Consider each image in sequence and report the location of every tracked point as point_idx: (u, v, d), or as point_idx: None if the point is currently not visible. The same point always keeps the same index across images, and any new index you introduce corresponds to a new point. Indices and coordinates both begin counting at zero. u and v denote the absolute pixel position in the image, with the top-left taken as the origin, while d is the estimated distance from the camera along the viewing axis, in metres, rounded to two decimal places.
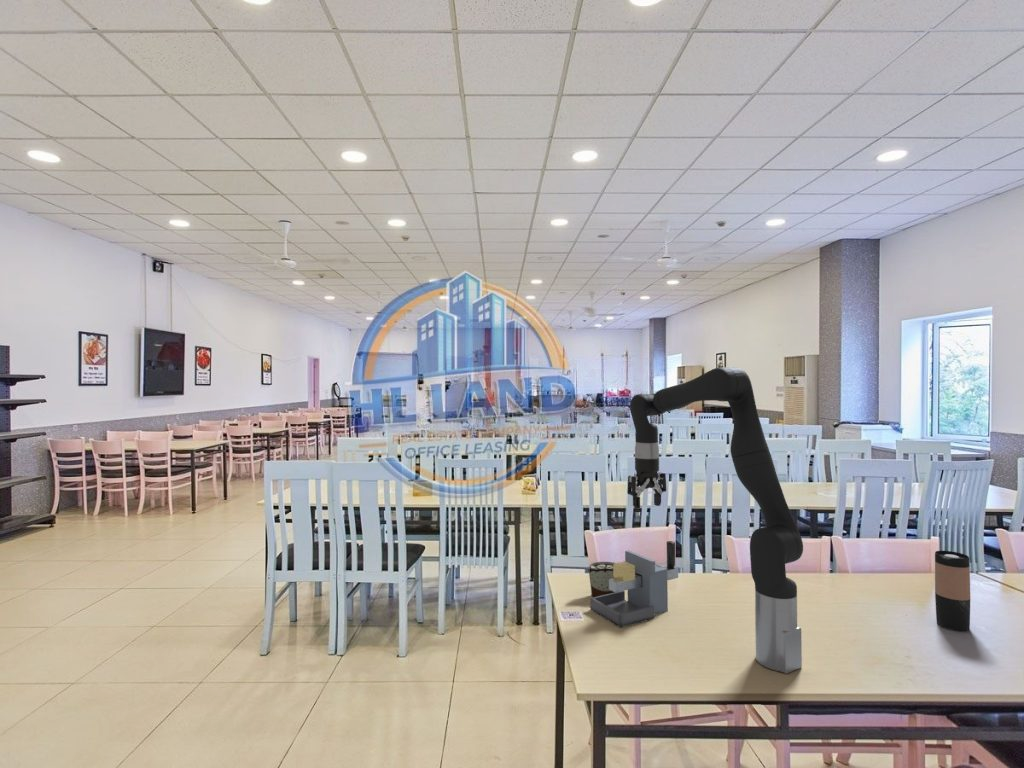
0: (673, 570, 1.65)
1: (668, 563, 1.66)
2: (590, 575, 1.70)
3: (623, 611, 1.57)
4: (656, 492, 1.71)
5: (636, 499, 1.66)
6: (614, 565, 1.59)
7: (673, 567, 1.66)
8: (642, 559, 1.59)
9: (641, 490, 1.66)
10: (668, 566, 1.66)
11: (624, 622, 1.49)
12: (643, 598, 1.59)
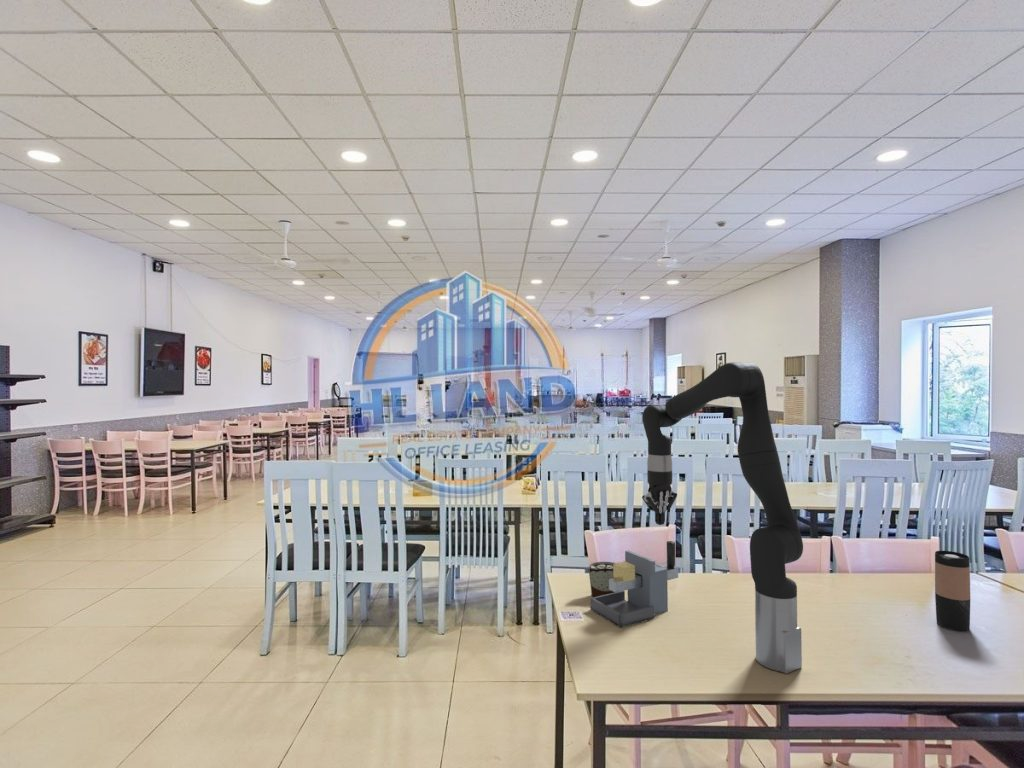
0: (673, 570, 1.65)
1: (668, 563, 1.66)
2: (590, 575, 1.70)
3: (623, 611, 1.57)
4: None
5: (658, 515, 1.64)
6: (614, 565, 1.59)
7: (673, 567, 1.66)
8: (642, 559, 1.59)
9: (660, 505, 1.63)
10: (668, 566, 1.66)
11: (624, 622, 1.49)
12: (643, 598, 1.59)
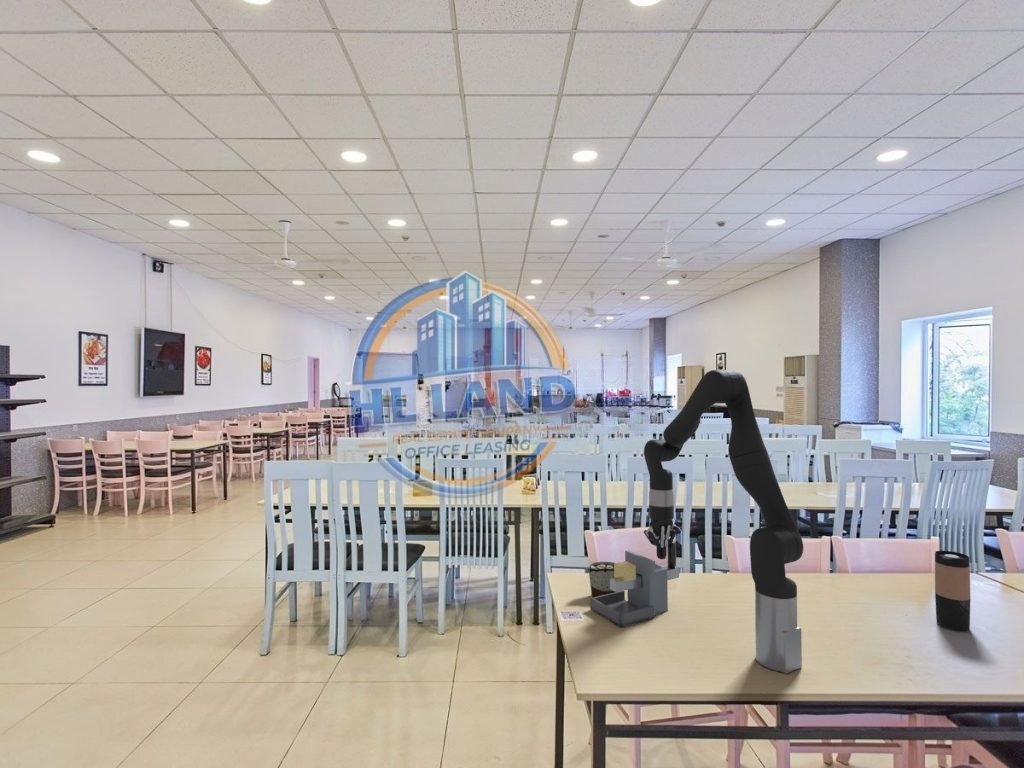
0: (674, 570, 1.66)
1: (669, 563, 1.66)
2: (590, 575, 1.70)
3: (623, 611, 1.57)
4: None
5: (660, 549, 1.64)
6: (615, 565, 1.59)
7: (674, 567, 1.66)
8: (642, 559, 1.59)
9: (662, 540, 1.63)
10: (669, 566, 1.66)
11: (624, 622, 1.49)
12: (643, 598, 1.59)
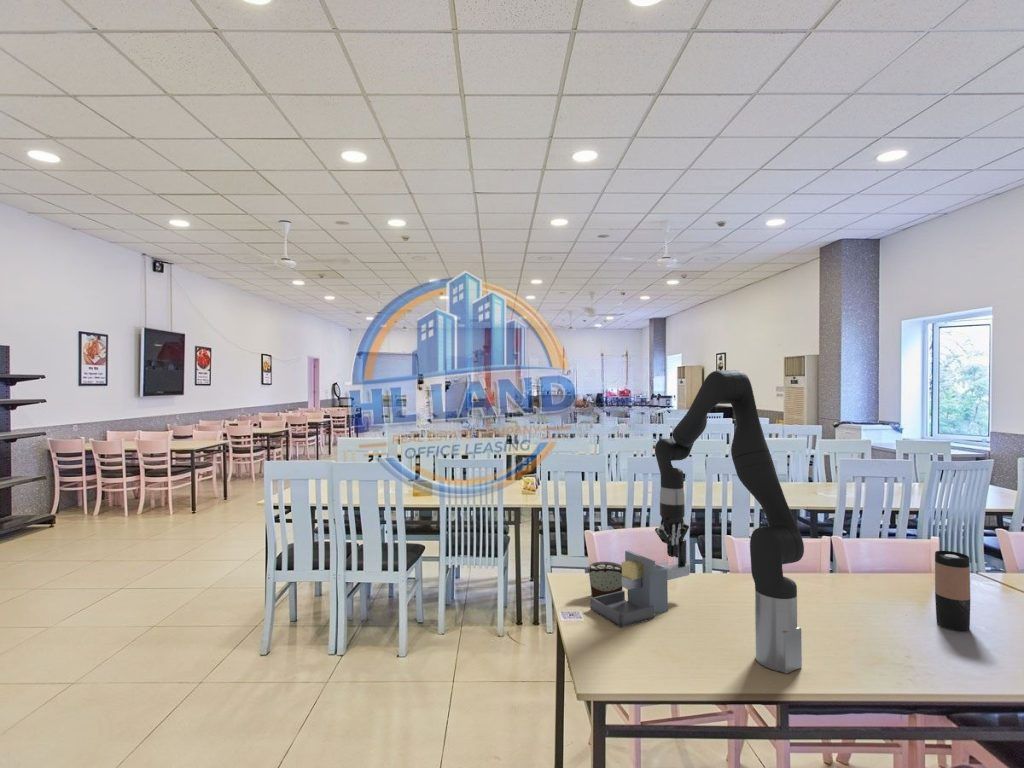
0: (685, 567, 1.68)
1: (679, 561, 1.68)
2: (590, 575, 1.70)
3: (623, 611, 1.57)
4: None
5: (671, 547, 1.66)
6: (622, 563, 1.60)
7: (684, 564, 1.68)
8: (642, 559, 1.59)
9: (673, 538, 1.66)
10: (679, 564, 1.68)
11: (624, 622, 1.49)
12: (643, 598, 1.59)
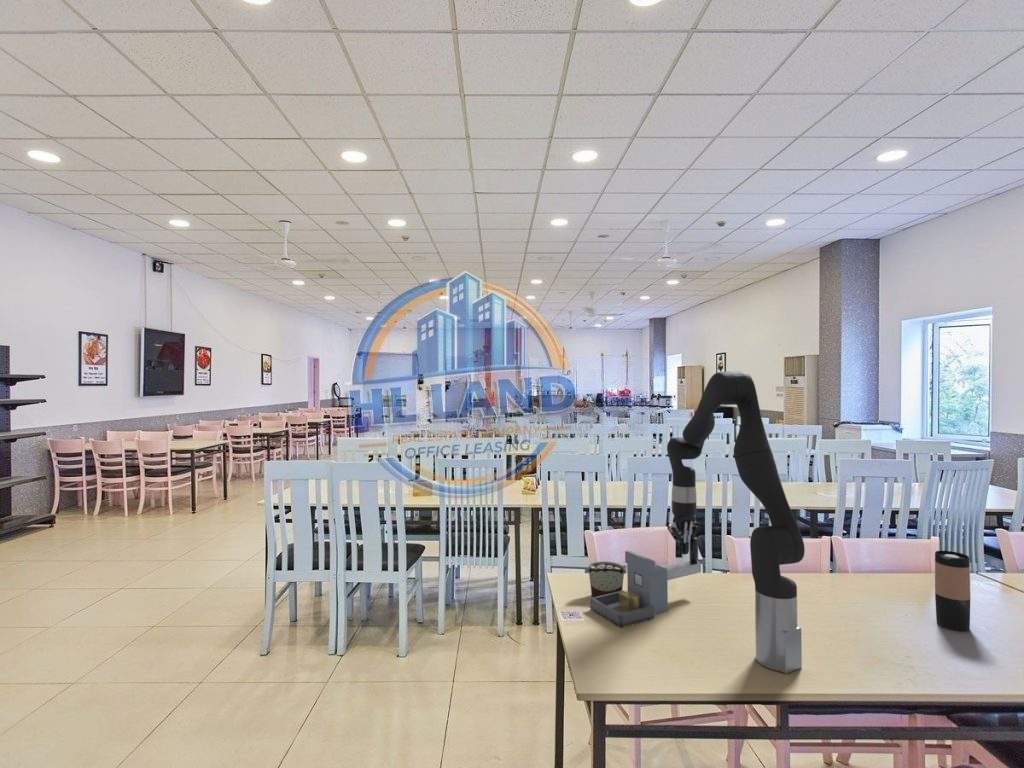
0: (696, 565, 1.70)
1: (691, 558, 1.71)
2: (590, 575, 1.70)
3: (623, 611, 1.57)
4: None
5: (683, 545, 1.69)
6: None
7: (696, 562, 1.70)
8: (642, 559, 1.59)
9: (685, 535, 1.68)
10: (691, 561, 1.71)
11: (624, 622, 1.49)
12: (643, 598, 1.59)
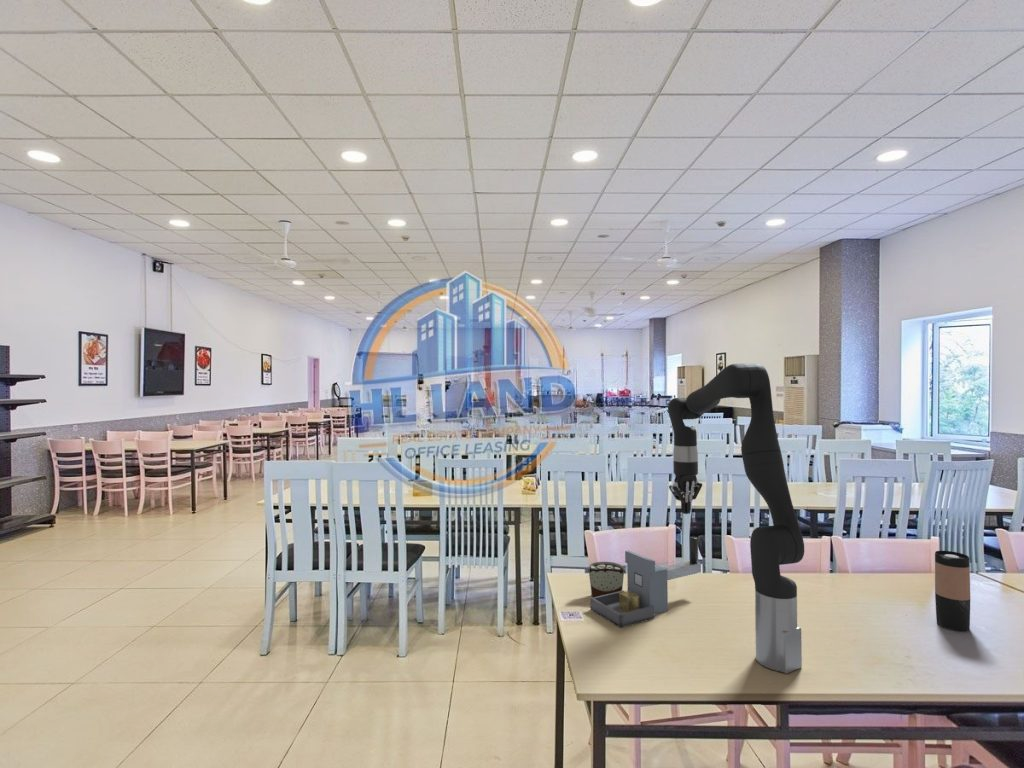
0: (696, 565, 1.70)
1: (691, 558, 1.71)
2: (590, 575, 1.70)
3: (623, 611, 1.57)
4: None
5: (684, 504, 1.69)
6: None
7: (696, 562, 1.70)
8: (642, 559, 1.59)
9: (687, 495, 1.68)
10: (691, 561, 1.71)
11: (624, 622, 1.49)
12: (643, 598, 1.59)
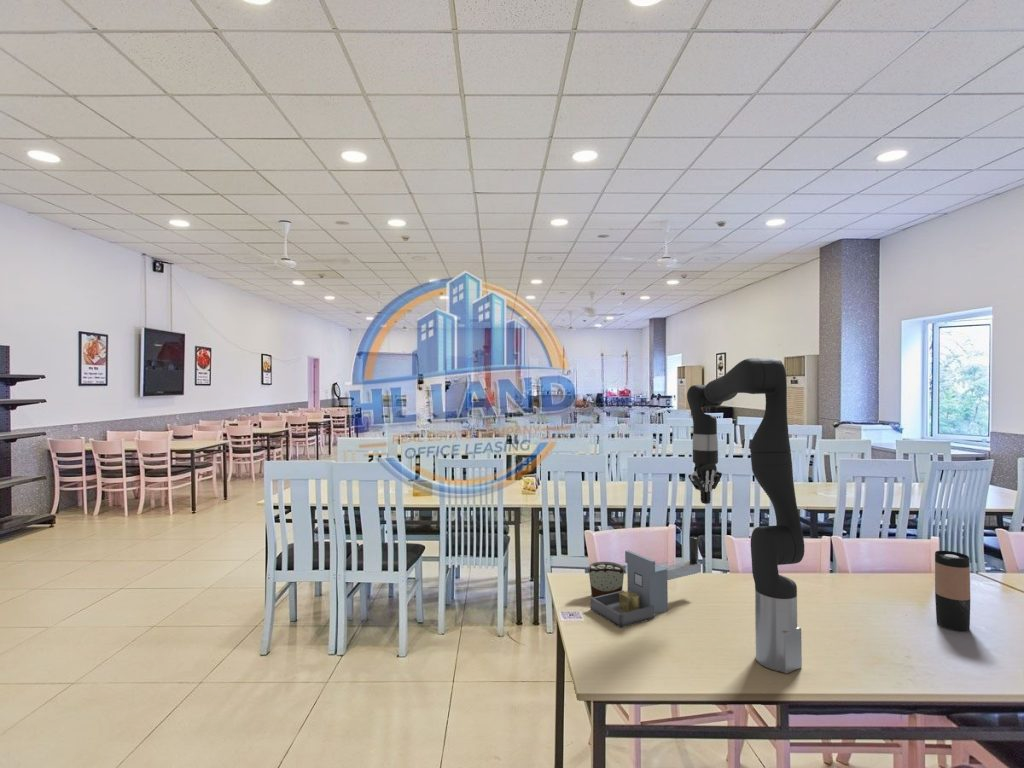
0: (696, 565, 1.70)
1: (691, 558, 1.71)
2: (590, 575, 1.70)
3: (623, 611, 1.57)
4: None
5: (704, 494, 1.65)
6: None
7: (696, 562, 1.70)
8: (642, 559, 1.59)
9: (706, 484, 1.64)
10: (691, 561, 1.71)
11: (624, 622, 1.49)
12: (643, 598, 1.59)
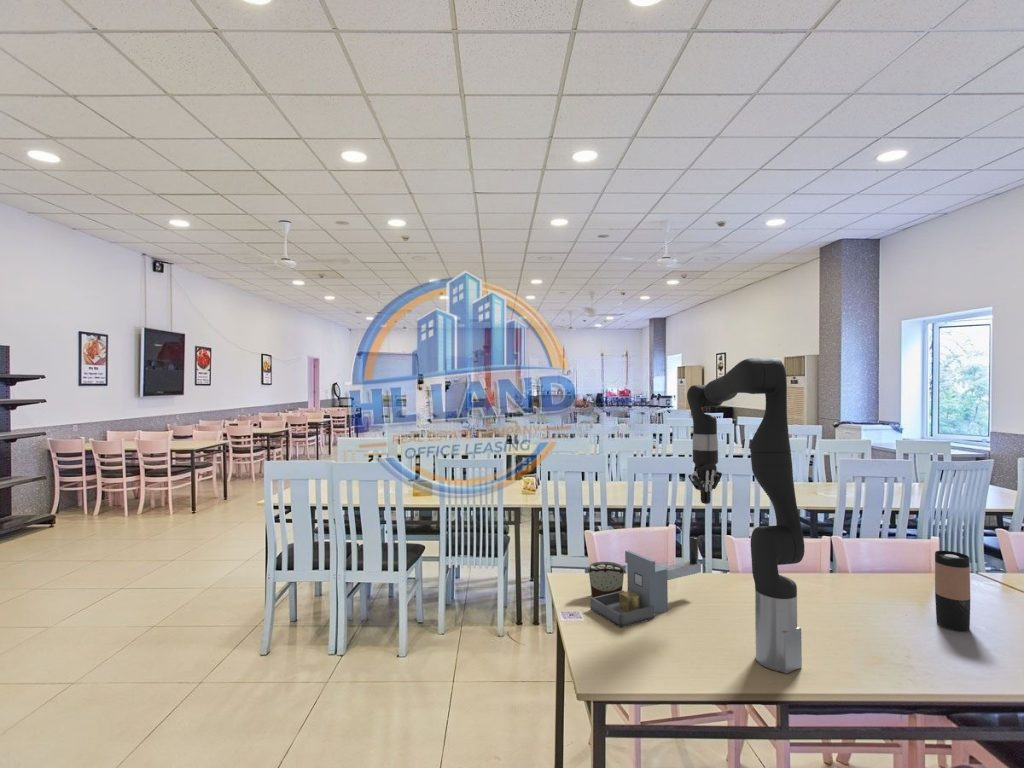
0: (696, 565, 1.70)
1: (691, 558, 1.71)
2: (590, 575, 1.70)
3: (623, 611, 1.57)
4: None
5: (704, 494, 1.65)
6: None
7: (696, 562, 1.70)
8: (642, 559, 1.59)
9: (706, 484, 1.64)
10: (691, 561, 1.71)
11: (624, 622, 1.49)
12: (643, 598, 1.59)
